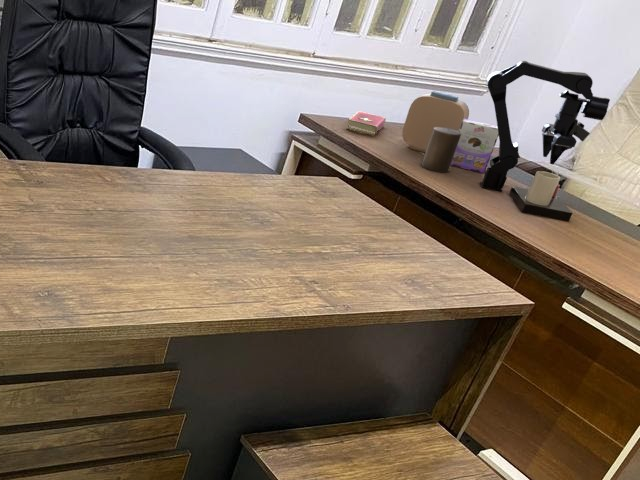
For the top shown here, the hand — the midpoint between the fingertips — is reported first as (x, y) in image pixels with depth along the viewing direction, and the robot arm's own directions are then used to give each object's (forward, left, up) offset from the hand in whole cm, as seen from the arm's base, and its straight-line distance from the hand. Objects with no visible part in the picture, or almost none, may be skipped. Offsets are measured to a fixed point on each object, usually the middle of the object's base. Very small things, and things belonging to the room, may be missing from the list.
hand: (548, 160), depth 268 cm
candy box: (-19, +24, -13) cm, 33 cm away
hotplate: (-1, -12, -13) cm, 18 cm away
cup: (-4, -16, -10) cm, 20 cm away
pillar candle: (-32, +14, -13) cm, 37 cm away
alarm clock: (-32, +39, -13) cm, 52 cm away
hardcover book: (-55, +58, -13) cm, 81 cm away
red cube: (+3, -5, -10) cm, 12 cm away
